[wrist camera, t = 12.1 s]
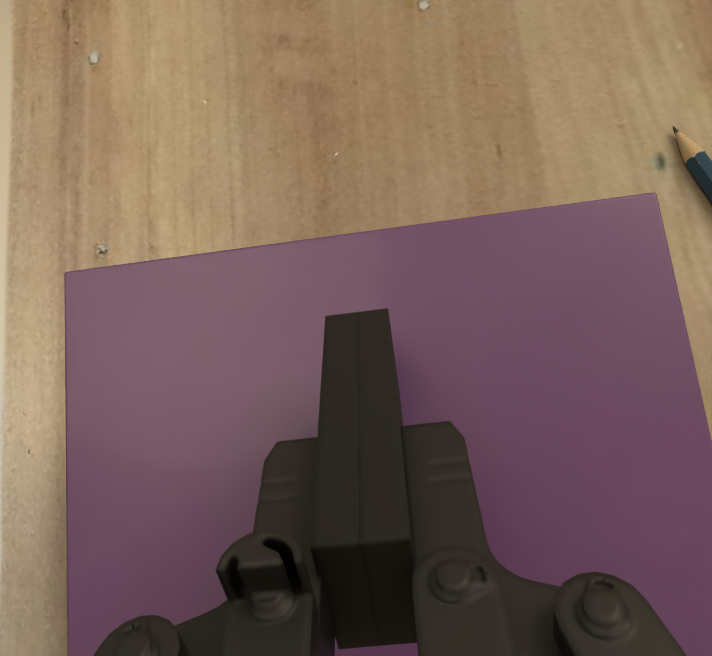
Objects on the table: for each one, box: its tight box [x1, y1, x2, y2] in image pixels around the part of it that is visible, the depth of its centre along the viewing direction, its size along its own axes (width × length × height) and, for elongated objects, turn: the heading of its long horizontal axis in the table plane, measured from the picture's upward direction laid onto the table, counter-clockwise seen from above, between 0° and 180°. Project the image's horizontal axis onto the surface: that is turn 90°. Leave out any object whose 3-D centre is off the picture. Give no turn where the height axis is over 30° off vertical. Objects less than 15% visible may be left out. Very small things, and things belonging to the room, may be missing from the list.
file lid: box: [65, 193, 712, 656], centre depth 16 cm, size 15×17×1 cm
